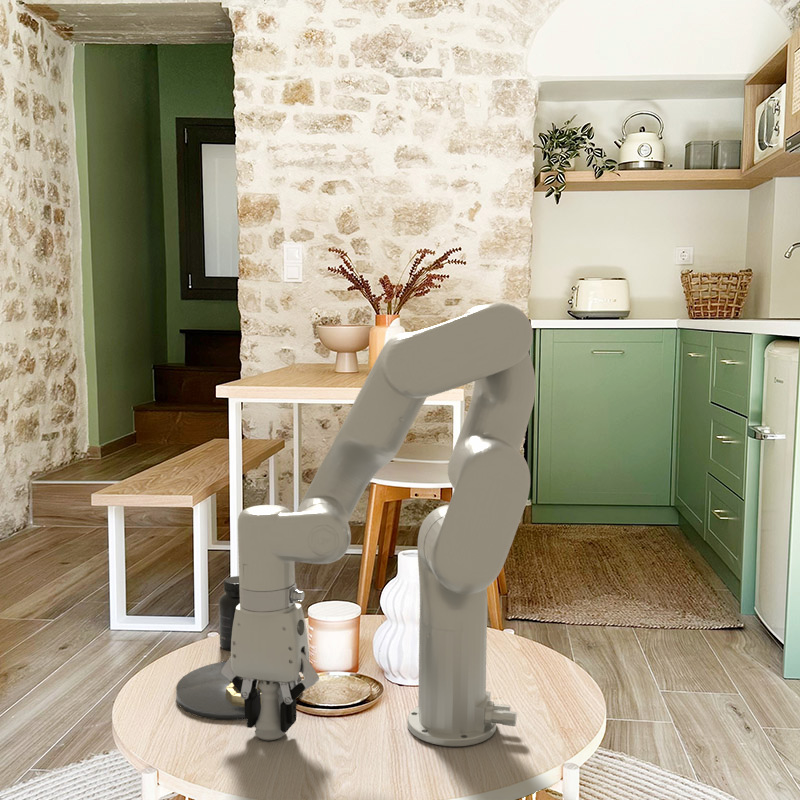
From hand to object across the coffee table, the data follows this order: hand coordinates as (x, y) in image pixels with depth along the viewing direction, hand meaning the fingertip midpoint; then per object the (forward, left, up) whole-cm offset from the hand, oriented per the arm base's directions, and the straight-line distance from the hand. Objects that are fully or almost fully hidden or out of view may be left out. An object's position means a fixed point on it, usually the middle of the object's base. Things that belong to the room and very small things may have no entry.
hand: (270, 724), depth 119 cm
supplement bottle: (+20, -30, -2) cm, 36 cm away
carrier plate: (+11, -12, -2) cm, 16 cm away
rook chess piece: (0, 0, -2) cm, 2 cm away
